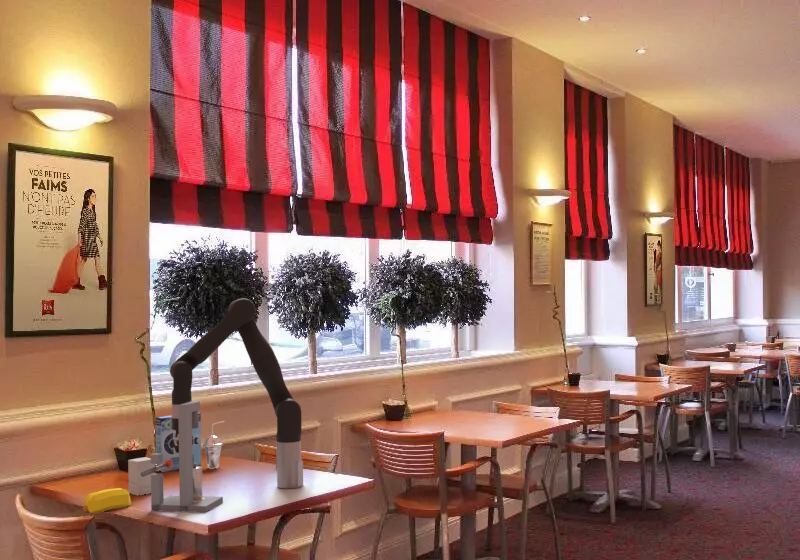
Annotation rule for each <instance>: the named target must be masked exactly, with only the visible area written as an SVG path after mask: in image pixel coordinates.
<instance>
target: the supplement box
mask: <svg viewBox="0 0 800 560" xmlns="http://www.w3.org/2000/svg"><path fill="white" fill-rule="evenodd" d="M127 463H128V466H127V468H128V470H127V472H128V492H129V494H130V493H131V495H134V496H137V497H139V495H140V496H145V495H144V494H146V495H151V494H150V493H151V475H153V474H156V472H154V473H151V474H149V475H146V476H144V477H142V476H141V472H143V471H146V470H148V469H151V468H153V467H156V464H151V457H150V458H149V457H147V456H144V457H137V458H133V459H132V458H131V459H128V460H127Z"/></svg>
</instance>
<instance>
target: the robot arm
mask: <svg viewBox="0 0 800 560" xmlns="http://www.w3.org/2000/svg"><path fill="white" fill-rule="evenodd" d="M255 314H256V306H255V304H254V302H253V301H252V300H250V299H248V298H238V299H235V300H233V301H232V302H231V303H230V304H229V305H228V308H227V313H226V315H225V316H224V317H223V318H222V319H221V320H220V322H218V324H216V325H215V326H214V327H213V328H212V329H210V330H209V331H207V332H206V333H205V334H204V335H203V336H202V337H201V338H200V339H198V340H197V341H196V342H195V343H194V344H193V345H192V346H191V347H190V348H189V349H188V350H187V351H186V352H185V353H184V354H182V355H181V356H179V357H178V358H177V359H176V360H175V361H174V362H173V363H172V364H171V366H170V368H169V374H170V376H171V377H172V379H173V380H172V381H173V382H172V383H173V388H172V391H171V410H170V411H171V413H170V414H171V415H172V429H173V430H175V431H176V434H175V438H176V439H175V440H173V441H172V444H173V446H174V448H175V451H176V453H179V419H178V405H180V404H184V403H187V402H191V401H193V400H192V385H193V371H194V369H195V368H196V367H198V366H199V365H202V363H204V362H205V361H206V360H208V358H209V357H210V356H212V354H213V353H214V352H215V351H216V350H217V349H218V348H219V347H221V345H222V344H223V343H224V342H225V341H226V339H228V338H229V337H230V336H231V335H232V334H234V333H235V332H236V331H237V332H238V334H239V336H240V338H241V340H242V342H243V345H244V348H245V350H246V353H247V355H248V358H249V360H250V362H251V364H252V366H253V368H254V371H255V373H256V374H257V376H258V379H259V380H260V382H261V383H262V385H263V386H264V388H265V390H266V391H267V394H268V396H269V398H270V401H271V404H272V406H273V410H274V414H275V416H276V444H275V445H276V449H277V468H276V485H277V488H279V489H298V488H300V487H302V486H303V485H304V460H303V459H302V441H301V438H302V436H301V435H302V407H301V405H300V403H299V402H297V401H296V400H295V399H294V398H293V396H292V394H291V392H290V391H289V389H288V387H287V386H286V383H285V379H284V375H283V372H282V369H281V365H280V363H279V361H278V357H276V354H275V352H274V349H273V348H272V346H271V345H270V343H269V342H268V340H267V339H266V338H265V336H264V335H263V334H262V333H261V331H260V329H259V328H258V326H257V323H256V320H255ZM192 439H193V436H192Z"/></svg>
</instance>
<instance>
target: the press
mask: <svg viewBox="0 0 800 560" xmlns="http://www.w3.org/2000/svg"><path fill="white" fill-rule="evenodd" d="M200 410H201V401H197V400H196V401H195V400H194V401H193V400H192V401H191V402H187V403H184V404H180V405H178V419H179V469H178V470H179V471H178V472H179V483H178V484H179V495H172V494H170V495H169V496H167V497H164V473H155V474H153V475H151V494H150V503H151V505H150V506H151V507H150V508H151V510H163V511H162V512H182V511H196V512H195V513H207V512H209V511H211V510H212V509H214V508H216V507H217V505H218V506H219V505H221V504H223V503H222V502H224V498H223V497H224V496H207V495H202V500H199V501H193V457H192V429H193V428H198V413H199V411H200ZM150 458H151V464H155V465H156V464H159V463H162V462H163V453H156V452H153V453H151V454H150ZM220 503H221V504H220ZM215 506H216V507H215ZM213 507H214V508H213ZM210 509H211V510H210ZM208 510H209V511H208ZM206 511H207V512H206Z"/></svg>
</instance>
